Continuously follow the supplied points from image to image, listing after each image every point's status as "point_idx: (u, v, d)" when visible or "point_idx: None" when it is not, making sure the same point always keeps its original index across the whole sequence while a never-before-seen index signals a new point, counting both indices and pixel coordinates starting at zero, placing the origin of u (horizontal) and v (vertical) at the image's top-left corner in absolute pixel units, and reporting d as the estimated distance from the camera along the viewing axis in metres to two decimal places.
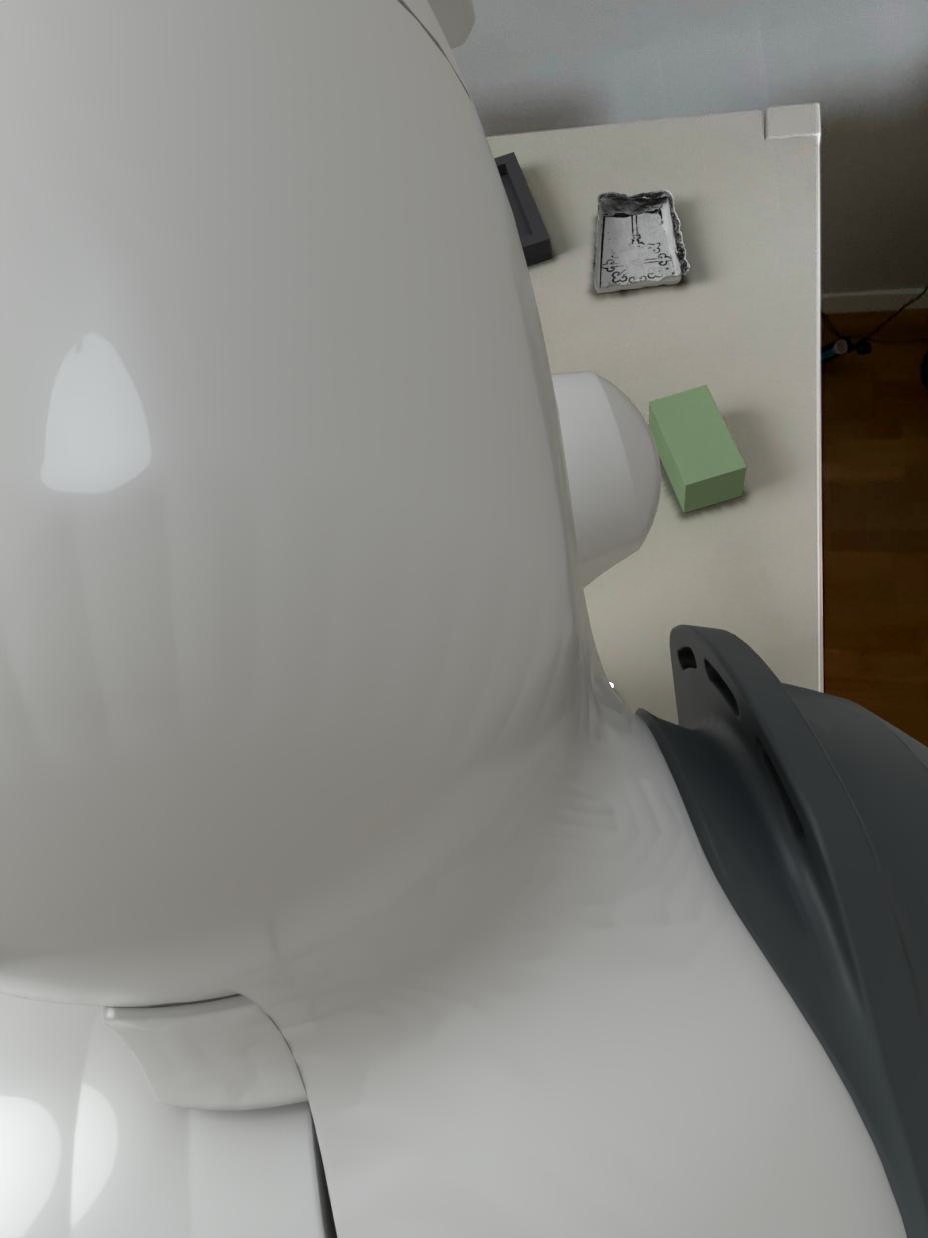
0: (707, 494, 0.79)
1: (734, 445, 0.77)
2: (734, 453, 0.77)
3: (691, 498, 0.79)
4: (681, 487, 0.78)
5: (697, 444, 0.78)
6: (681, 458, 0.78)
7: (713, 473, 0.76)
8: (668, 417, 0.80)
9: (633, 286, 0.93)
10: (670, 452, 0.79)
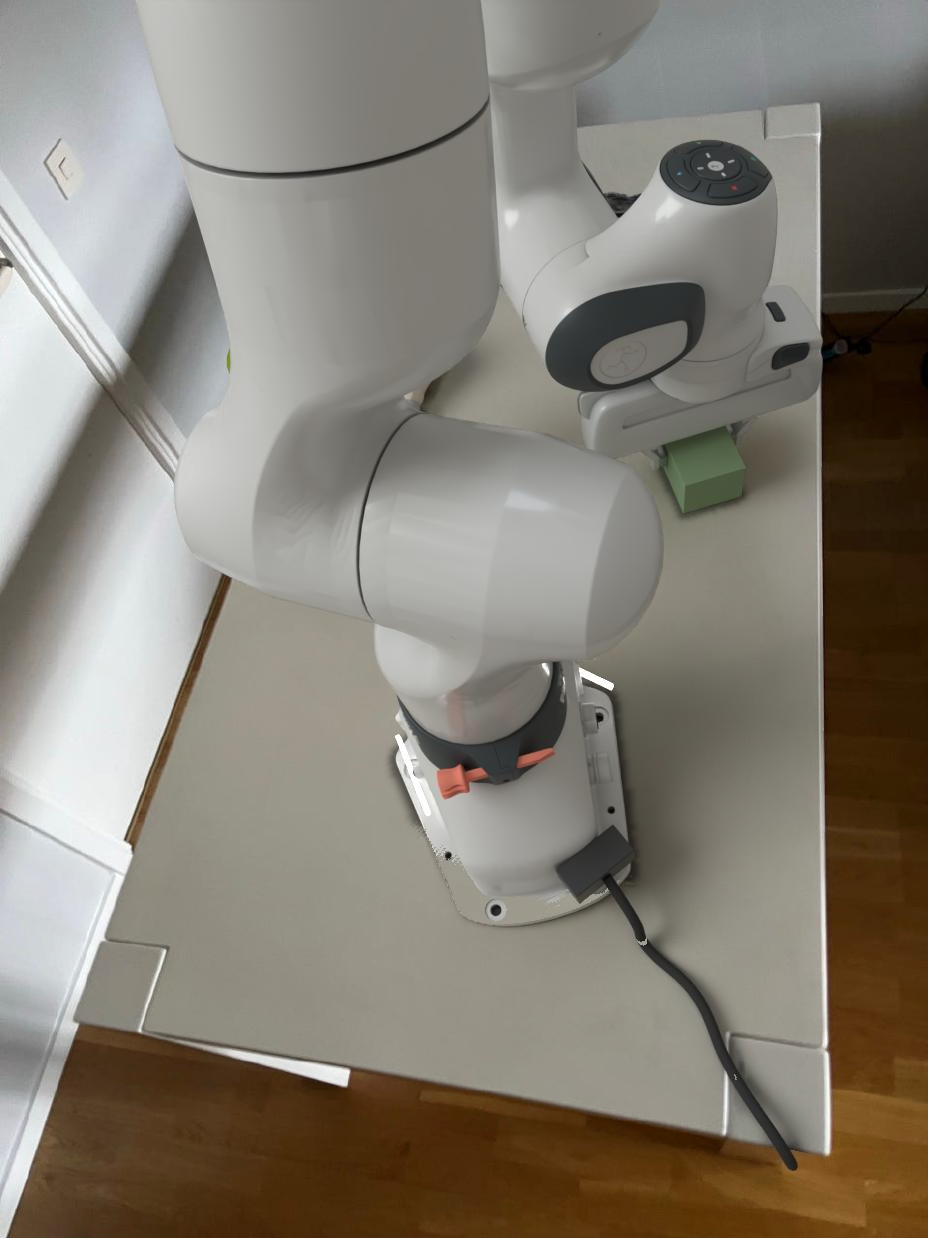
0: (707, 494, 0.79)
1: (734, 446, 0.77)
2: (733, 454, 0.77)
3: (691, 499, 0.79)
4: (680, 488, 0.78)
5: (696, 445, 0.78)
6: (680, 458, 0.78)
7: (712, 473, 0.76)
8: None
9: None
10: (669, 452, 0.79)
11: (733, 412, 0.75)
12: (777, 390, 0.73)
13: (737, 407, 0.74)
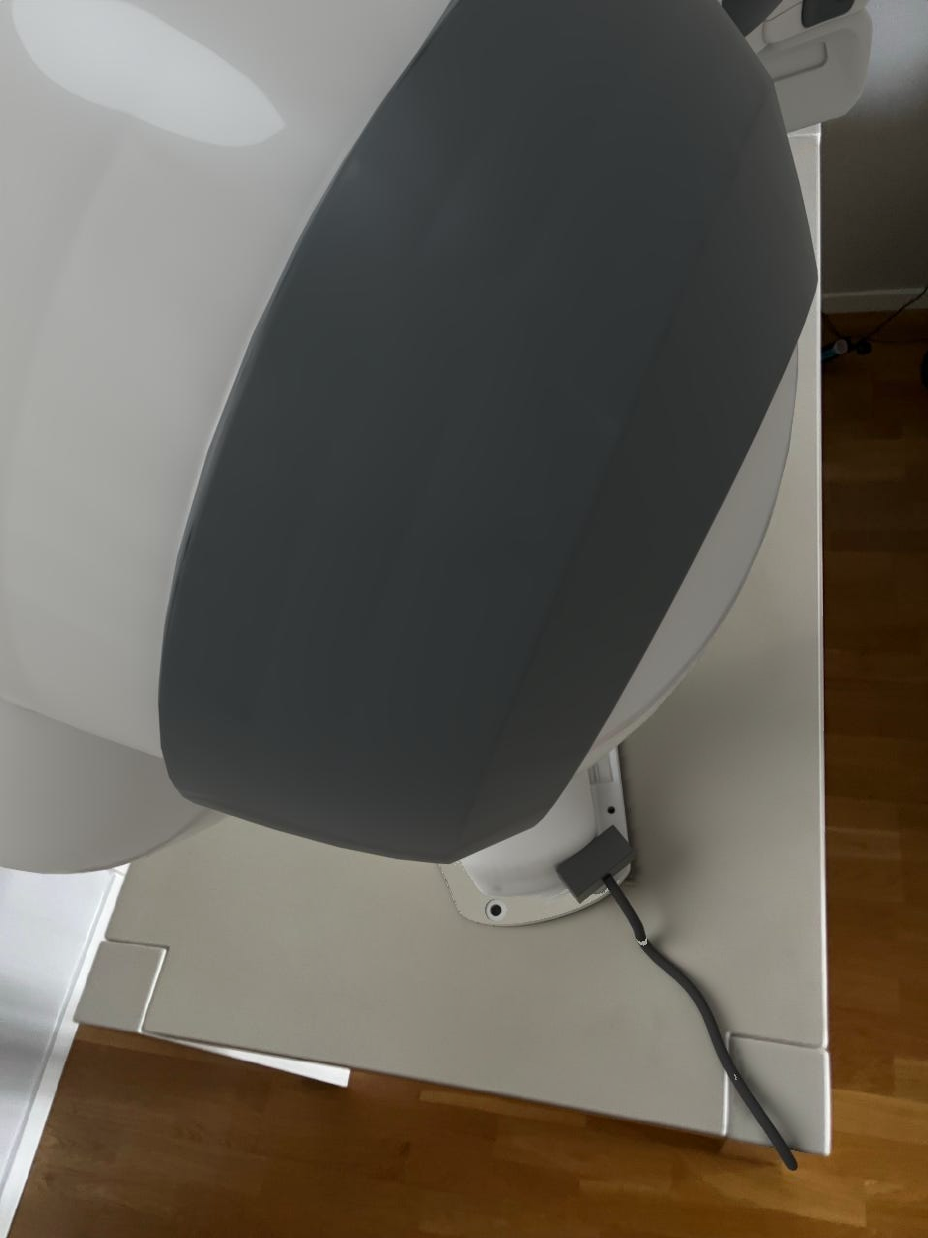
0: None
1: None
2: None
3: None
4: None
5: None
6: None
7: None
8: None
9: None
10: None
11: None
12: (807, 86, 0.53)
13: None
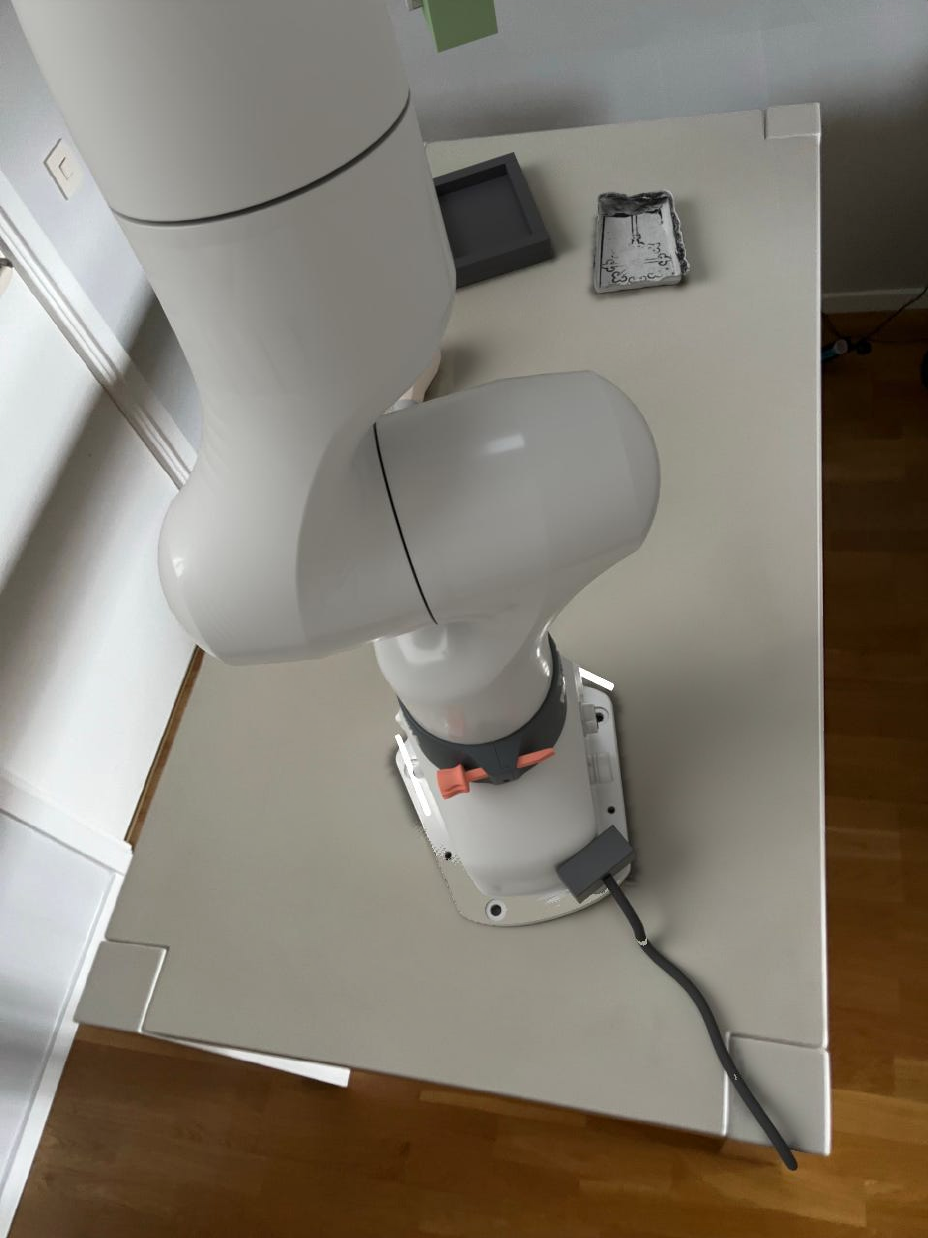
0: (456, 20, 0.74)
1: None
2: None
3: (440, 25, 0.74)
4: (428, 11, 0.74)
5: None
6: None
7: None
8: None
9: (633, 286, 0.93)
10: None
11: None
12: None
13: None
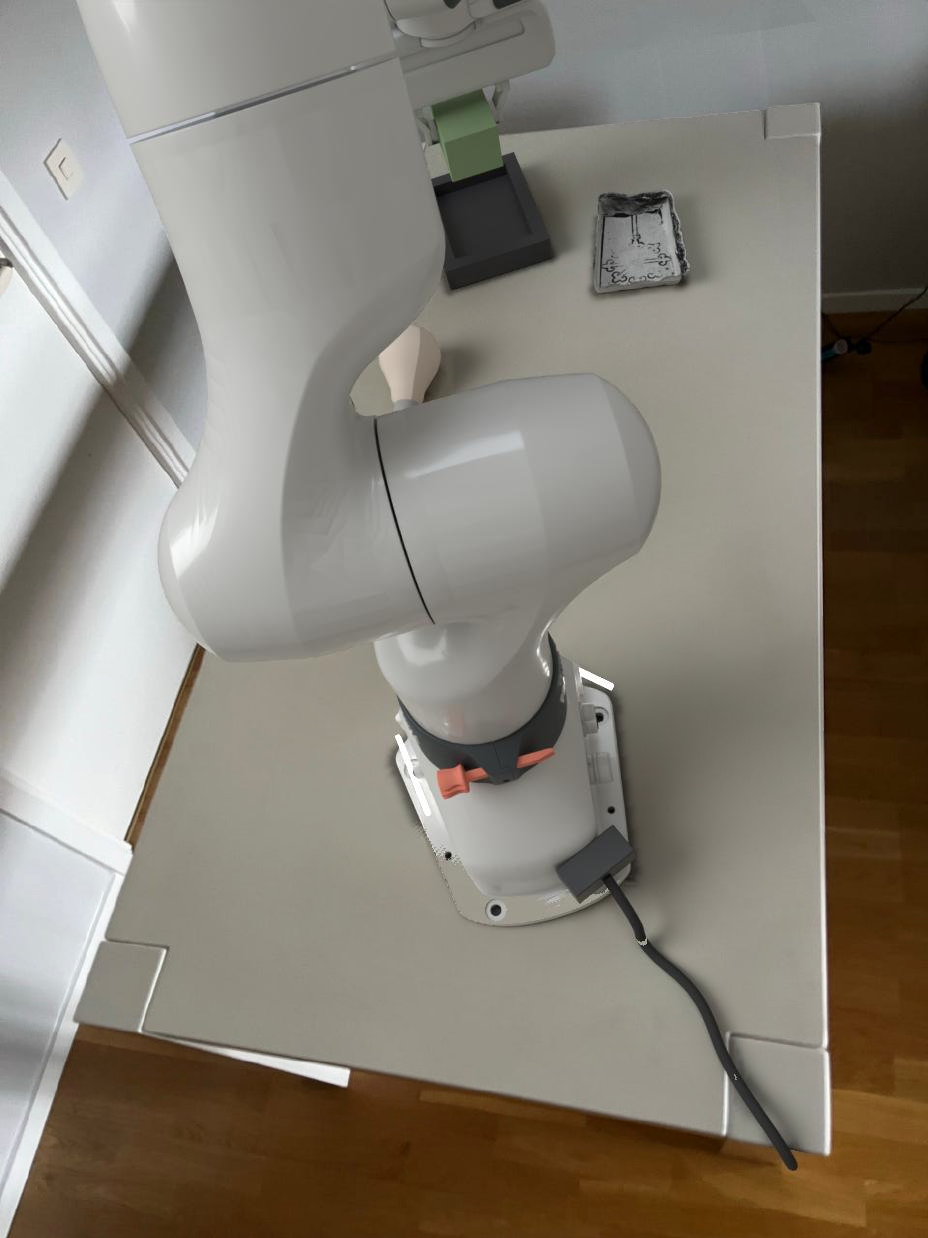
0: (469, 158, 0.89)
1: (489, 110, 0.88)
2: (488, 116, 0.87)
3: (455, 162, 0.89)
4: (445, 151, 0.89)
5: (459, 112, 0.88)
6: (443, 123, 0.88)
7: (468, 132, 0.87)
8: None
9: (633, 286, 0.93)
10: (436, 121, 0.89)
11: (481, 71, 0.85)
12: (516, 46, 0.84)
13: (483, 64, 0.84)
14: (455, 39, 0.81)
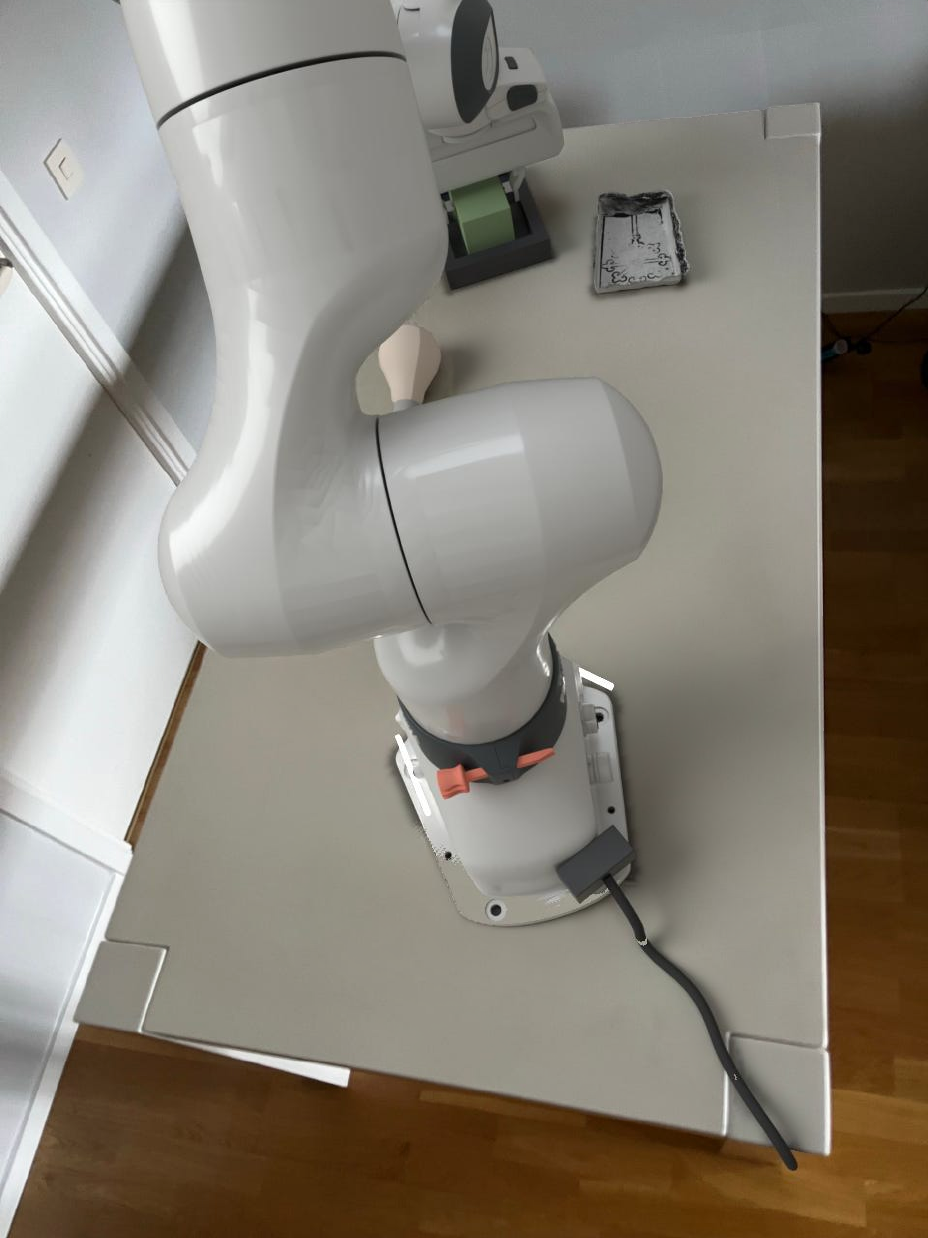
0: (484, 235, 0.97)
1: (503, 193, 0.96)
2: (502, 198, 0.96)
3: (471, 239, 0.97)
4: (462, 229, 0.97)
5: (475, 194, 0.97)
6: (461, 204, 0.96)
7: (484, 213, 0.95)
8: None
9: (633, 286, 0.93)
10: (454, 202, 0.97)
11: (496, 161, 0.93)
12: (528, 140, 0.92)
13: (498, 156, 0.93)
14: (473, 136, 0.89)
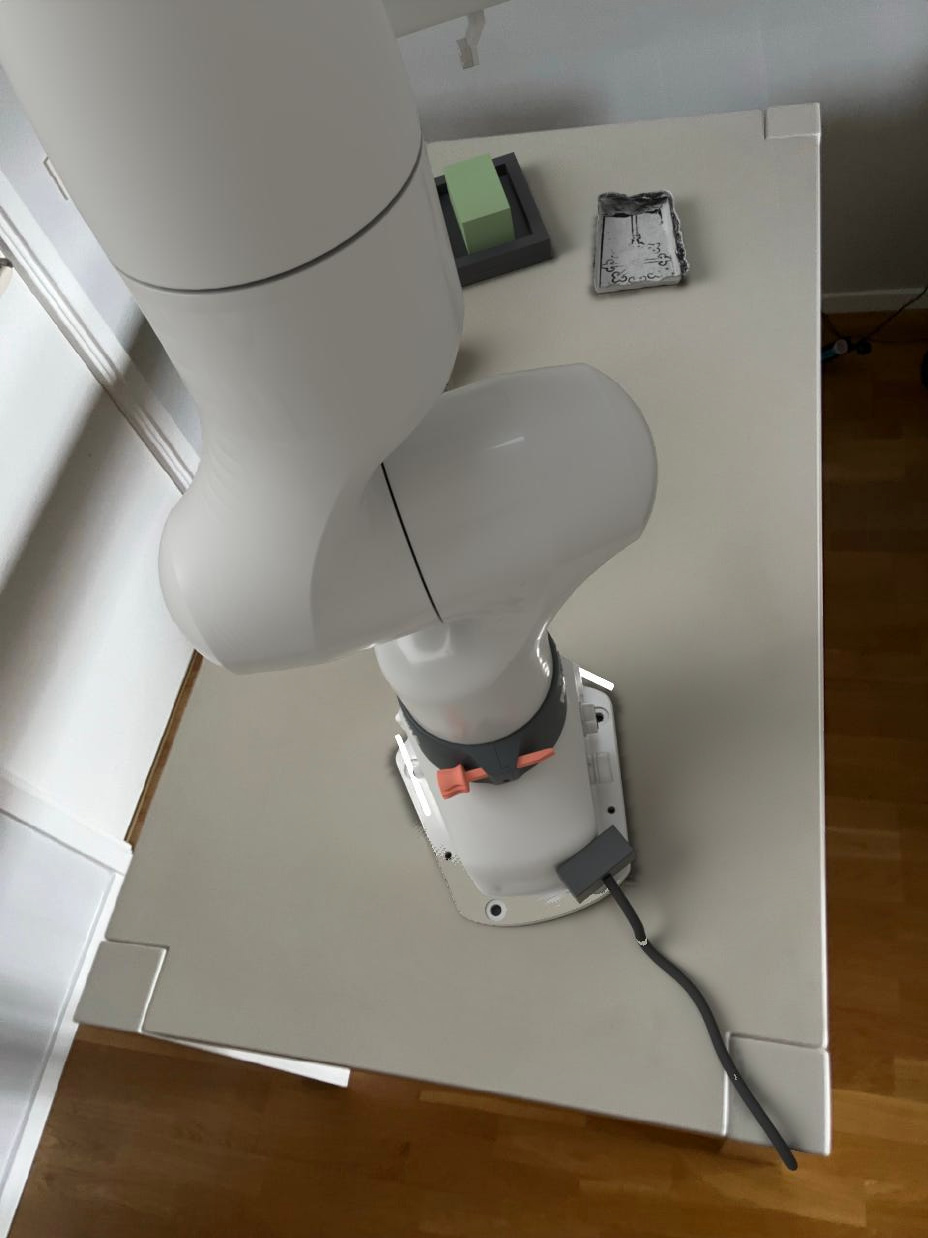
0: (484, 235, 0.97)
1: (503, 193, 0.96)
2: (502, 198, 0.96)
3: (471, 239, 0.97)
4: (462, 229, 0.97)
5: (475, 194, 0.97)
6: (461, 204, 0.96)
7: (484, 213, 0.95)
8: (456, 177, 0.99)
9: (633, 286, 0.93)
10: (454, 202, 0.97)
11: (433, 2, 0.71)
12: None
13: None
14: None
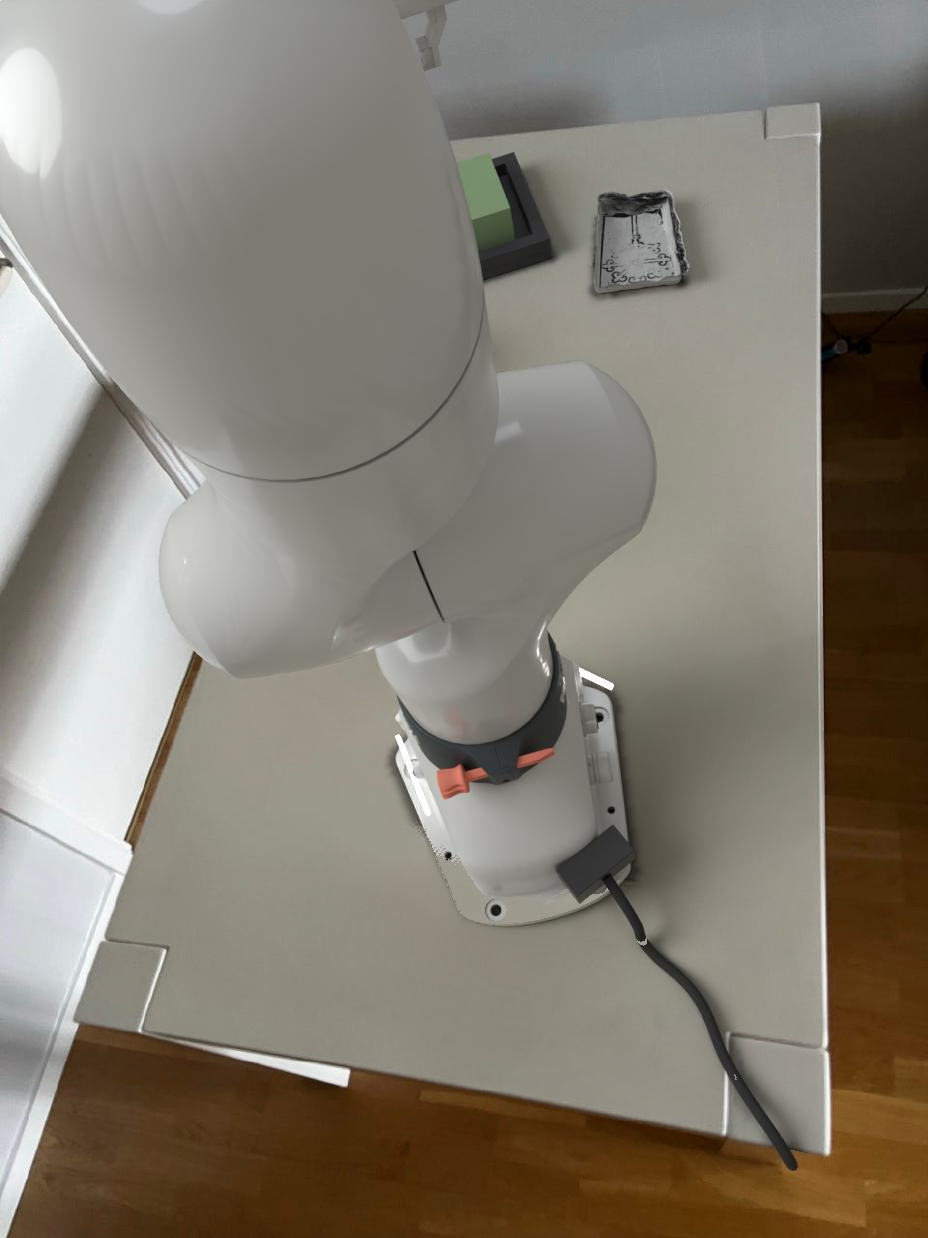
0: (484, 235, 0.97)
1: (503, 193, 0.96)
2: (502, 198, 0.96)
3: None
4: None
5: (475, 194, 0.97)
6: None
7: (484, 213, 0.95)
8: None
9: (633, 286, 0.93)
10: None
11: None
12: None
13: None
14: None
